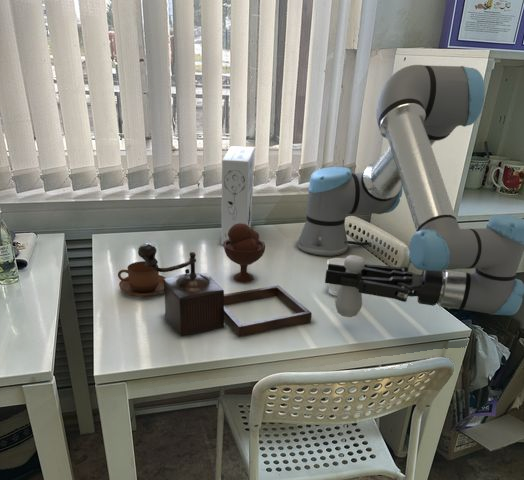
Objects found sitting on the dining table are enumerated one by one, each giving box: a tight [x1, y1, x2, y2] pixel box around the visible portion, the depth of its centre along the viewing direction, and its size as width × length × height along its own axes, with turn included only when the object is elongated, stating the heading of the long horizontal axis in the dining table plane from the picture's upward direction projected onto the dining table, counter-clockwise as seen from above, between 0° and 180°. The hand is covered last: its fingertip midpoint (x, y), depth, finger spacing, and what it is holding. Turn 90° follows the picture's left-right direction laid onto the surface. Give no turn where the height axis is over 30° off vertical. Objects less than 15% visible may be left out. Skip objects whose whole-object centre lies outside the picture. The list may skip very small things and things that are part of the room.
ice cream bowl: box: [223, 223, 266, 284], centre depth 133 cm, size 11×11×15 cm
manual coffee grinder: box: [137, 242, 225, 337], centre depth 110 cm, size 16×11×18 cm
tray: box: [224, 285, 313, 338], centre depth 119 cm, size 18×16×2 cm
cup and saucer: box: [117, 260, 167, 297], centre depth 127 cm, size 12×12×6 cm
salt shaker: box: [334, 254, 366, 318], centre depth 111 cm, size 6×6×13 cm
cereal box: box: [220, 145, 255, 246], centre depth 161 cm, size 22×8×25 cm, turn 177°
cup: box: [326, 257, 345, 297], centre depth 131 cm, size 7×10×8 cm
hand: (327, 273), depth 111 cm, fingers closed on salt shaker, 3 cm apart
